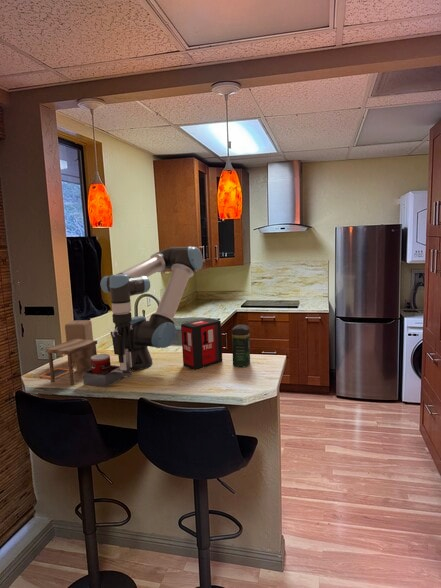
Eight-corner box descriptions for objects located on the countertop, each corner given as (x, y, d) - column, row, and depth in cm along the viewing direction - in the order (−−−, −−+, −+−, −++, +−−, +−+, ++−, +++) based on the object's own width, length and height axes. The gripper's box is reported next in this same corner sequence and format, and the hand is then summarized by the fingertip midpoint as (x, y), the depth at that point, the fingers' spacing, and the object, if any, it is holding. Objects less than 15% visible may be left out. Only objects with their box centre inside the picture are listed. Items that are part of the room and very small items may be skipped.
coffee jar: (248, 368, 179) (247, 328, 176) (231, 367, 181) (229, 328, 178) (251, 361, 188) (250, 323, 185) (235, 361, 190) (233, 323, 187)
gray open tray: (83, 384, 167) (79, 349, 165) (102, 374, 178) (99, 342, 176) (122, 389, 159) (119, 353, 157) (139, 379, 170) (137, 345, 168)
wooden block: (95, 357, 205) (92, 319, 202) (87, 363, 195) (83, 324, 192) (76, 357, 206) (73, 320, 203) (67, 364, 196) (63, 324, 193)
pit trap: (74, 371, 185) (73, 369, 185) (55, 379, 175) (55, 378, 175) (57, 369, 189) (57, 367, 188) (38, 377, 179) (38, 375, 179)
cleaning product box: (210, 357, 197) (208, 318, 194) (222, 361, 190) (220, 320, 187) (183, 366, 186) (181, 324, 183) (195, 370, 179) (192, 327, 176)
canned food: (96, 378, 175) (94, 354, 173) (114, 377, 174) (112, 353, 173) (90, 384, 167) (87, 359, 165) (108, 384, 167) (106, 359, 165)
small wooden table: (49, 382, 172) (45, 348, 169) (77, 369, 187) (74, 338, 185) (72, 386, 166) (69, 351, 164) (99, 372, 182) (97, 340, 180)
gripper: (126, 308, 170) (130, 361, 173) (101, 316, 155) (106, 373, 159) (140, 309, 167) (144, 363, 170) (116, 317, 152) (121, 375, 156)
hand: (126, 368), depth 165 cm, fingers closed on gray open tray, 3 cm apart
